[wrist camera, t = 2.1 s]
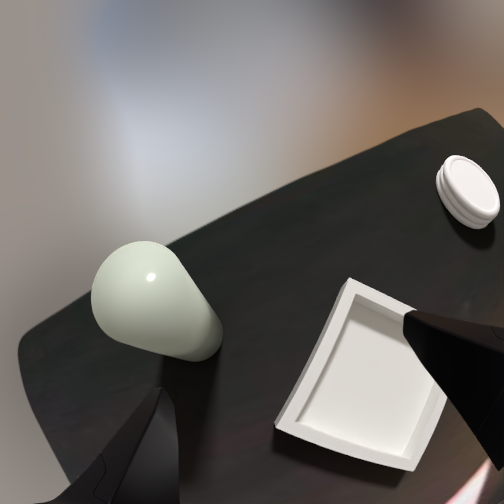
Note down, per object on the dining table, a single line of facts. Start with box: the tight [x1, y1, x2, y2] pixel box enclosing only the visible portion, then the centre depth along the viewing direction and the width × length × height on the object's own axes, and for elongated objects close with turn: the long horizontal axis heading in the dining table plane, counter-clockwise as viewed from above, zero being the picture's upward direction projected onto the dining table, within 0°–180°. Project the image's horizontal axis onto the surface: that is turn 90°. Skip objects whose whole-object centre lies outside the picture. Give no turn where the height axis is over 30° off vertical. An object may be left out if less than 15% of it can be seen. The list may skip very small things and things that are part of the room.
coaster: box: [436, 156, 500, 229], centre depth 27 cm, size 10×10×4 cm
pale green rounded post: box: [91, 241, 223, 362], centre depth 17 cm, size 5×5×12 cm
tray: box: [274, 278, 447, 471], centre depth 19 cm, size 13×13×3 cm
